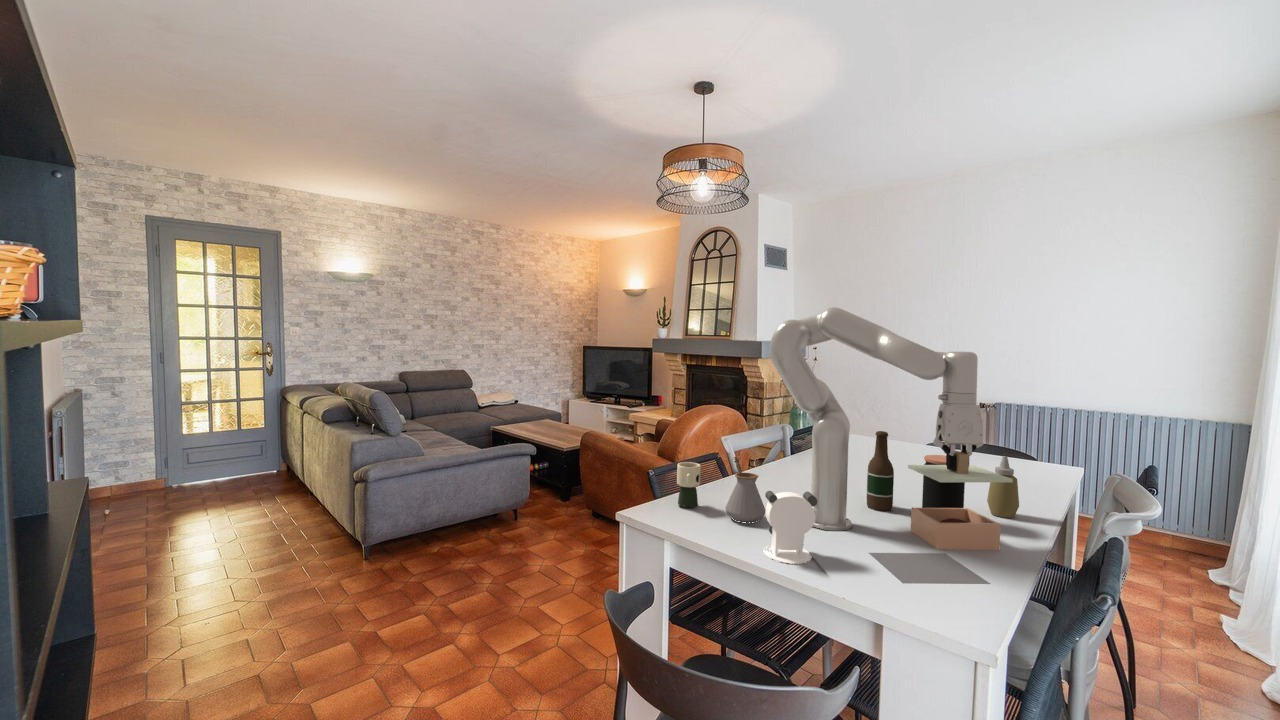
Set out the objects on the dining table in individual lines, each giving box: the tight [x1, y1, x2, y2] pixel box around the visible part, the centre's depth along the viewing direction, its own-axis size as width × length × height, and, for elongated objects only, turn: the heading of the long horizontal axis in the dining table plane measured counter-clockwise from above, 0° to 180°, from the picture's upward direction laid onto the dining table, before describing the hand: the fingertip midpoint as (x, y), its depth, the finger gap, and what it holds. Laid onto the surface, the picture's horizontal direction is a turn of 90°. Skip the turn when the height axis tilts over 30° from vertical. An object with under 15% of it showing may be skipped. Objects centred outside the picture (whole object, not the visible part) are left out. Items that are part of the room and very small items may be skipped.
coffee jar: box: [921, 454, 966, 508], centre depth 156 cm, size 11×11×18 cm
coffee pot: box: [724, 455, 766, 524], centre depth 157 cm, size 21×12×15 cm, turn 2°
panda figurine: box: [762, 490, 817, 565], centre depth 128 cm, size 12×11×15 cm
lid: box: [907, 450, 1013, 483], centre depth 137 cm, size 18×15×6 cm
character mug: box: [676, 461, 701, 508], centre depth 163 cm, size 11×7×13 cm, turn 175°
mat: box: [868, 552, 991, 585], centre depth 120 cm, size 19×16×1 cm
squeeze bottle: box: [986, 455, 1020, 519], centre depth 160 cm, size 8×8×18 cm
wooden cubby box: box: [910, 507, 1001, 552], centre depth 138 cm, size 16×13×7 cm
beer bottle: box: [866, 430, 895, 512], centre depth 165 cm, size 8×8×24 cm
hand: (957, 469), depth 137 cm, fingers closed on lid, 2 cm apart
